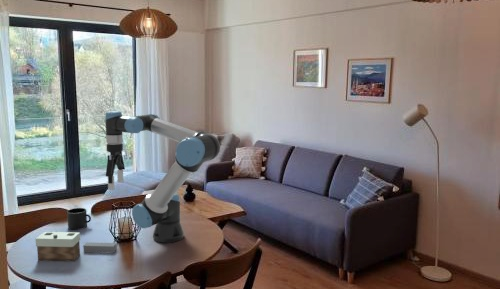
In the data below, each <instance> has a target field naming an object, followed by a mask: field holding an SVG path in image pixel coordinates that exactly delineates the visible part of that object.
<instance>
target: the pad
mask: <svg viewBox="0 0 500 289" xmlns="http://www.w3.org/2000/svg"><path fill="white" fill-rule="evenodd" d="M117 244H118V243H117V242H89V241H87V242H85V243H84V245H83V246H82V247H83V253H110V254H113V253H115V252H116V251H117V250H118V248H117Z"/></svg>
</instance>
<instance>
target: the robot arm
mask: <svg viewBox="0 0 500 289" xmlns="http://www.w3.org/2000/svg"><path fill="white" fill-rule="evenodd" d="M104 119H105V120H104V121H105V137H104V138H105V139H106V142H105V143H106V152H107V153H109V154H110V155H107V163H106V171H105V177H107V190H109V191H111V190H112V191H114V190H115V176H114V173H115V169H116V168H117V170H116V174H117V183H118V184H119V183H121V184H122V183H124V170H125V169H126V166H125V162H124V157H123V150H124V145H123V142H124V139H123V133H126V134H127V133H128V134H140V133H141V132H144V131H145V132H146V131H147V132H148V131H149V132H151V133H154V134H156V135H159V136H161V137H163V138H166V139H170V140H172V141H175V142H177V145H176V148H175V153H174V154H175V155H174V160H175V162H174V163H173V164H172V165H171V167H170V168H169V169H168V171H167V172H166V174H165V175H164V177H163V178H162V179H161V180H160V182H158V184H157V186H156V188H155V189H154V191H153V192H152V193H149V194H147V195H146V196H144V199H143V200H142V202H140V203H137V204H136V205H134V206H133V207H132V210H131V215H132V220H133V222H134V223H135V224H136V226H138V227H139V228H141V229H147V228H151V227H153V226H154V225H155V227H154V230H153V233H152V238H153V241H155V242H157V243H162V244H163V243H164V244H165V243H166V244H168V243H169V244H170V242H171V243H176V242H179V241H181V240H182V239H184V236H185V234H184V229H183V226H182V224H181V198H180V195H179V193H177V192H178V191H179V190H180V188H181V187H182V186H183V184H184V183H185V181H187V179H188V178H189V176H190V175H191V174H192V173H193V174H194V173H196V172H197V171H198V170H199V169H200V167H201V166H203V164H204V163H206V162H210V161H212V160H214V159H215V158H217V156H218V155H220V151H221V145H220V144H221V143H220V141H219V139H218V138H217V137H216V136H214V135H213V134H211V133H208V132H205V131H202V130H200V131H196V130H193V129H189V128H187V127H185V126H182V125H178V124H176V123H174V122H170V121H167V120H164V119H161V118H160V117H159V116H158V115H157V114H152V113H149V114H143V115H142V114H141V115H135V116H123V114H122V111H119V110H118V111H117V110H113V111H112V110H108V111H107V112H105V117H104ZM180 239H181V240H180ZM178 240H179V241H178ZM175 241H176V242H175Z"/></svg>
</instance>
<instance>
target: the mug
mask: <svg viewBox="0 0 500 289" xmlns="http://www.w3.org/2000/svg"><path fill="white" fill-rule="evenodd" d="M66 213H67V228H68V230H72V231H73V230H74V231H76V230H82V229H84V228H87V226H88V223H90V222H91V221H92V217H91V216H90V214H87V209H86V208H84V207H83V208H82V207H74V208H70V209H68V210H67V212H66ZM87 217H88V219H87Z"/></svg>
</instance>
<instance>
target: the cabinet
mask: <svg viewBox="0 0 500 289" xmlns="http://www.w3.org/2000/svg"><path fill="white" fill-rule="evenodd" d="M47 235H50V234H47ZM69 236H72V234H69ZM80 247H81V245H80V241H79V242H78V243H76V244H75V245H74V246H73V247H50V246H36V248H37V250H36V251H37V261H40V262H41V261H42V262H43V261H46V262H76V260H77V259H78V258H79V257H80V256H81V250H80V249H81V248H80Z"/></svg>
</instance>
